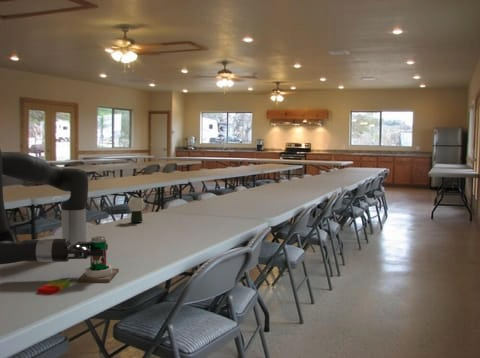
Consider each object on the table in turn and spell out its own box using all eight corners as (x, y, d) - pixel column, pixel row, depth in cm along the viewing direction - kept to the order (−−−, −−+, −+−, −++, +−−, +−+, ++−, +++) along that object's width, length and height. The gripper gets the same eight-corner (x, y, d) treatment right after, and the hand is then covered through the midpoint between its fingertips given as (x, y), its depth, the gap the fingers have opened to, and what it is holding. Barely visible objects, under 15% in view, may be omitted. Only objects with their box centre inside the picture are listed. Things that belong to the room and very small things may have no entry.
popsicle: (35, 294, 138) (35, 288, 138) (64, 279, 152) (64, 274, 152) (52, 296, 137) (52, 290, 136) (80, 281, 151) (80, 275, 151)
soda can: (108, 271, 157) (107, 236, 156) (104, 275, 152) (104, 239, 151) (92, 271, 157) (92, 235, 156) (88, 275, 152) (88, 239, 151)
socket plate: (89, 271, 160) (89, 262, 160) (118, 271, 161) (118, 262, 160) (77, 281, 148) (77, 272, 148) (109, 282, 149) (109, 273, 148)
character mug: (149, 222, 252) (148, 198, 251) (141, 224, 246) (141, 200, 244) (132, 220, 256) (132, 197, 255) (124, 222, 250) (124, 198, 249)
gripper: (46, 243, 145) (101, 243, 147) (59, 234, 159) (109, 233, 161) (47, 267, 145) (101, 266, 147) (59, 255, 160) (109, 255, 161)
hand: (105, 249), depth 154 cm, fingers open, 7 cm apart
